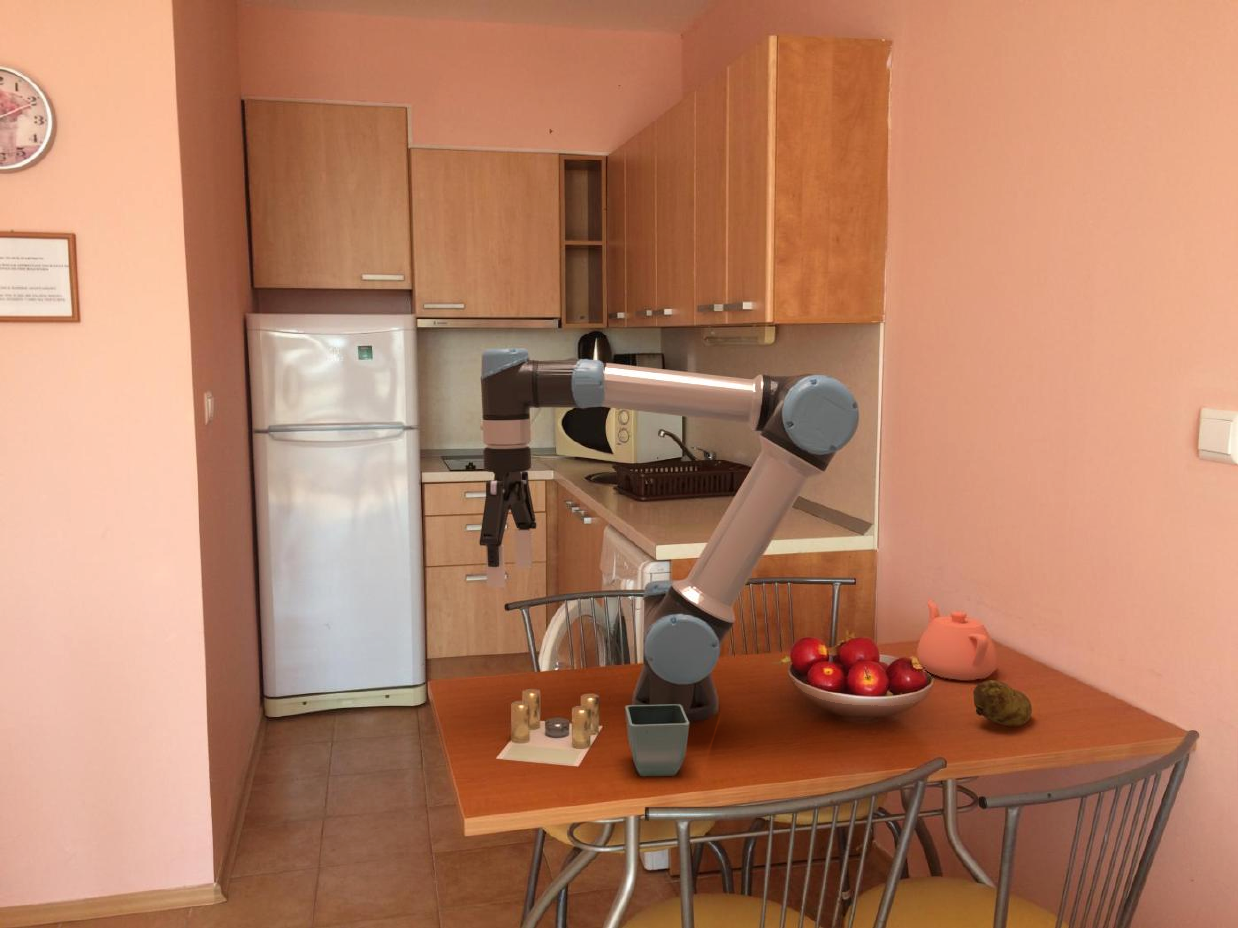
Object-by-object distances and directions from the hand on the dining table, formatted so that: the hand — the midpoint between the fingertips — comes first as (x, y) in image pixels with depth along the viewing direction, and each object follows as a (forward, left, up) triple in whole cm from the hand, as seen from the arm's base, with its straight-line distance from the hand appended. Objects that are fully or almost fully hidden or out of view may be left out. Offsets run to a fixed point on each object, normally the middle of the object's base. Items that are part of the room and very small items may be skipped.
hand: (510, 577), depth 166 cm
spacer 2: (-3, -3, -26) cm, 26 cm away
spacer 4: (-13, +3, -26) cm, 29 cm away
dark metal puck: (-8, -1, -26) cm, 27 cm away
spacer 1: (-3, +3, -26) cm, 26 cm away
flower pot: (-26, +9, -27) cm, 38 cm away
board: (-8, +2, -26) cm, 28 cm away
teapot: (-76, -53, -27) cm, 96 cm away
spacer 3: (-13, -3, -26) cm, 29 cm away
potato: (-81, -24, -27) cm, 88 cm away
